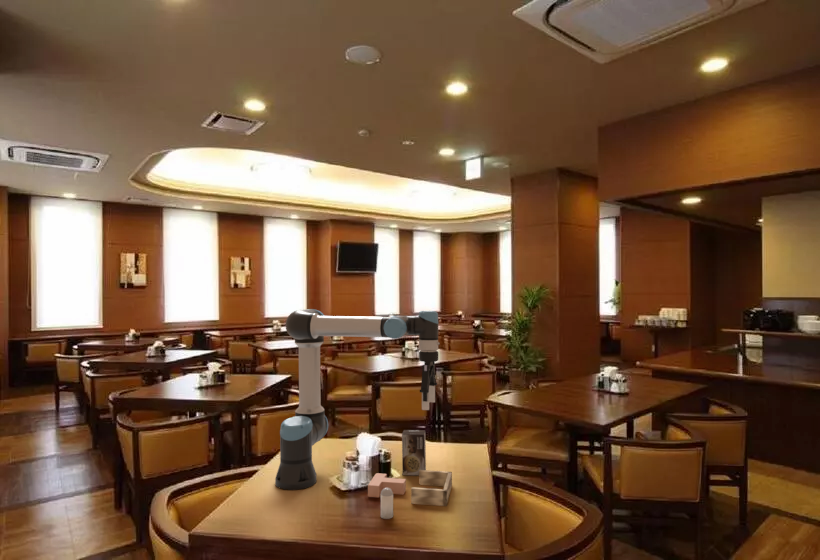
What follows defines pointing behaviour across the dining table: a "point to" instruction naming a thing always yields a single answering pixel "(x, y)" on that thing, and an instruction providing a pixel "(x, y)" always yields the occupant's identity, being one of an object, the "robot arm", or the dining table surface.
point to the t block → (385, 485)
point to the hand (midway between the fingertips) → (428, 405)
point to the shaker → (386, 503)
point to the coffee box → (413, 452)
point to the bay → (432, 495)
